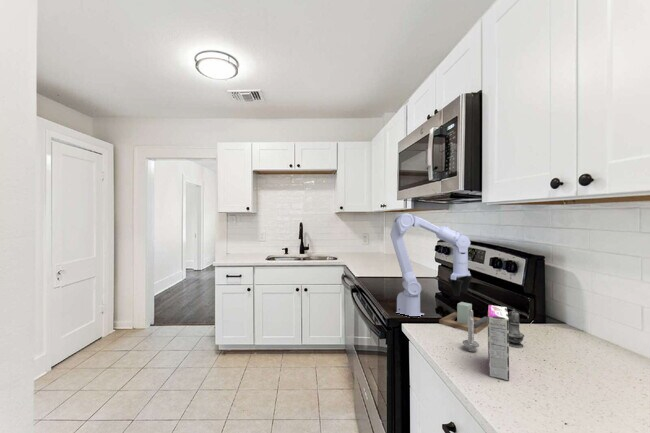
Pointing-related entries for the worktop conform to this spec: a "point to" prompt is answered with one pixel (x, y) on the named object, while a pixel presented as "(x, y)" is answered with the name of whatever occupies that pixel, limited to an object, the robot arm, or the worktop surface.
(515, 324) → the grey chess piece
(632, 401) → the worktop surface
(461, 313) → the peg
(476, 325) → the metal rail
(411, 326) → the worktop surface
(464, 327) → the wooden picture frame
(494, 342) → the candy bar box
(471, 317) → the screw
